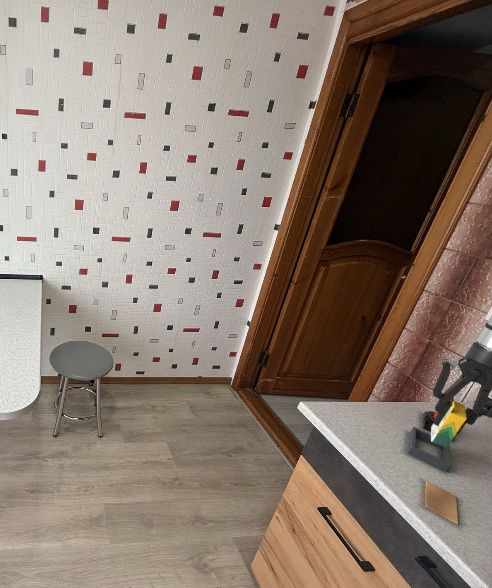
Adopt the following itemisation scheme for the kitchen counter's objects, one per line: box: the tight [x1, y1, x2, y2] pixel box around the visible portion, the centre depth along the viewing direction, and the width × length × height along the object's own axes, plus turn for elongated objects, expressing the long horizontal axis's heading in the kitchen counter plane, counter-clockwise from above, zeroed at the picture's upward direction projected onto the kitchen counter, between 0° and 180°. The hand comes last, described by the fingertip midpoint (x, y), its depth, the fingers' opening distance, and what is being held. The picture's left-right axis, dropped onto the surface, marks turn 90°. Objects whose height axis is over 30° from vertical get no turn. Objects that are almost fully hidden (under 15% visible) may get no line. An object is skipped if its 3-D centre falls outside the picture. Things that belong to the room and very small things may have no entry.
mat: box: [424, 480, 459, 525], centre depth 74 cm, size 5×9×1 cm, turn 135°
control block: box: [422, 410, 455, 441], centre depth 96 cm, size 9×6×3 cm
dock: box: [407, 426, 452, 473], centre depth 88 cm, size 7×11×2 cm
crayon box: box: [430, 396, 467, 448], centre depth 83 cm, size 7×3×12 cm, turn 135°
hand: (445, 426), depth 84 cm, fingers closed on crayon box, 3 cm apart
